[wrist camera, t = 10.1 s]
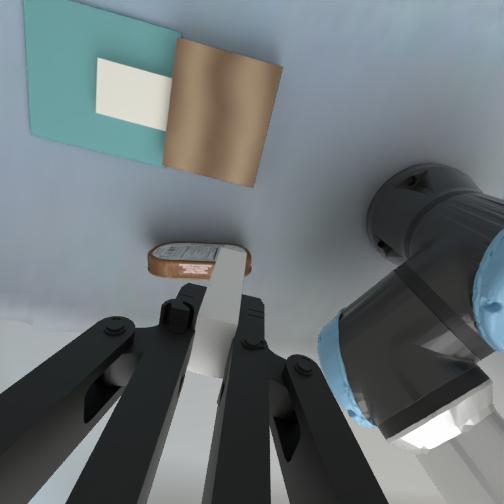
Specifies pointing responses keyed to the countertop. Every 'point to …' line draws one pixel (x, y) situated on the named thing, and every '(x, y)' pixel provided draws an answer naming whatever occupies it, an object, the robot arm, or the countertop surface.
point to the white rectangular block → (132, 94)
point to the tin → (189, 260)
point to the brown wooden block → (218, 112)
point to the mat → (90, 75)
